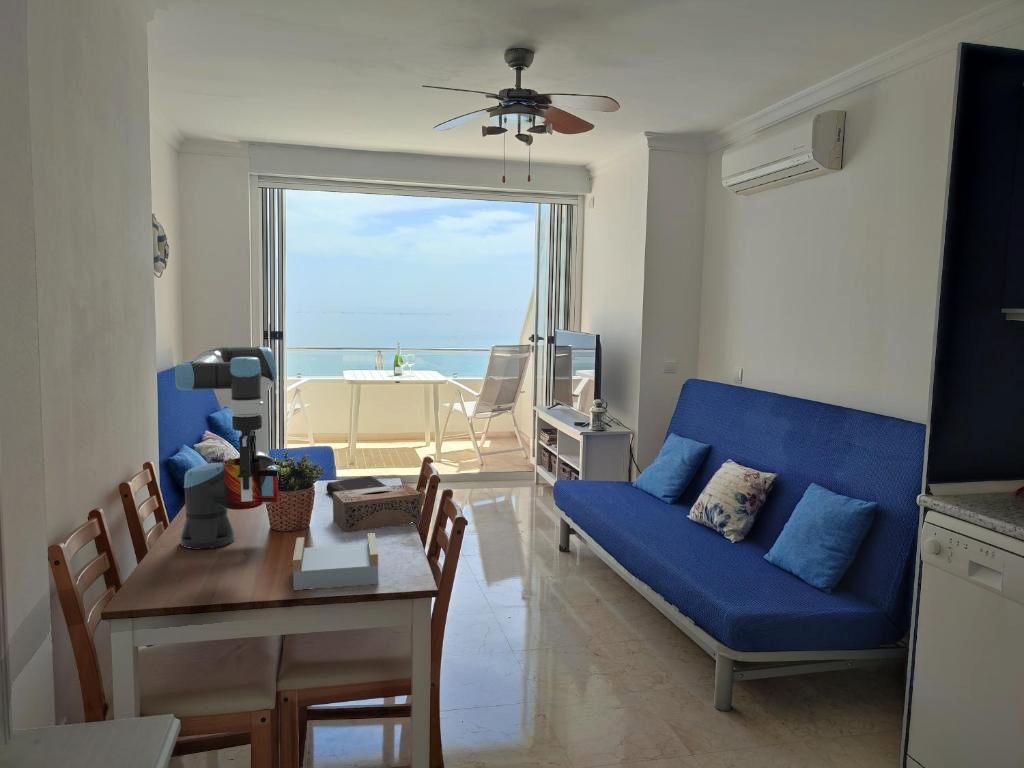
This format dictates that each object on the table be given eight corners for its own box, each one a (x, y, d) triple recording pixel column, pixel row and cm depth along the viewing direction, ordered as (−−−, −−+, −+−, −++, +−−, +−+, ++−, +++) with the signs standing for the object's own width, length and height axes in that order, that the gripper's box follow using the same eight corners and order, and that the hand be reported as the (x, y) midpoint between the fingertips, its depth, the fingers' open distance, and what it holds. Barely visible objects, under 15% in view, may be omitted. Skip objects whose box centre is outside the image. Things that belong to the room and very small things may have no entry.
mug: (279, 506, 200) (277, 463, 198) (224, 511, 195) (222, 466, 194) (278, 497, 209) (276, 455, 207) (225, 501, 204) (224, 458, 203)
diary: (349, 510, 261) (349, 496, 260) (326, 494, 282) (325, 481, 281) (398, 502, 271) (398, 488, 270) (372, 487, 292) (372, 475, 291)
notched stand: (293, 590, 186) (292, 559, 185) (297, 566, 203) (296, 537, 203) (378, 584, 191) (377, 554, 190) (375, 560, 208) (374, 532, 207)
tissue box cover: (407, 512, 258) (407, 484, 257) (421, 523, 245) (421, 493, 244) (333, 521, 246) (332, 492, 245) (344, 533, 233) (343, 502, 232)
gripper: (256, 420, 189) (259, 506, 191) (265, 408, 211) (267, 485, 213) (225, 421, 187) (228, 507, 190) (237, 409, 209) (240, 486, 211)
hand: (249, 495), depth 201 cm, fingers closed on mug, 10 cm apart
